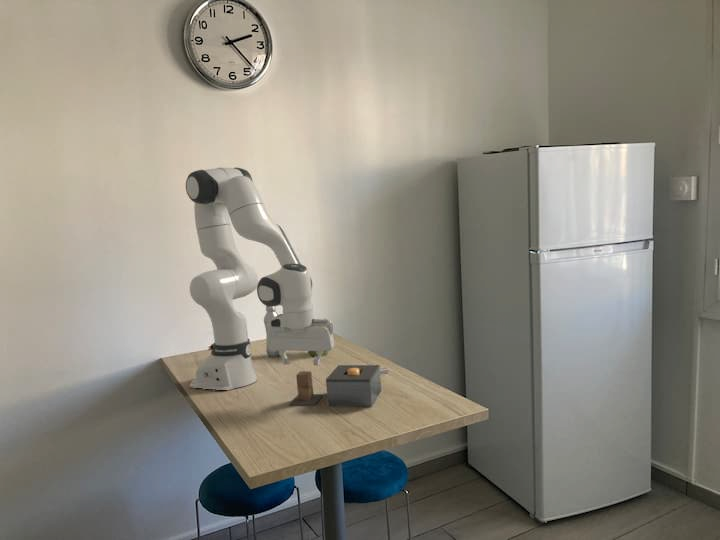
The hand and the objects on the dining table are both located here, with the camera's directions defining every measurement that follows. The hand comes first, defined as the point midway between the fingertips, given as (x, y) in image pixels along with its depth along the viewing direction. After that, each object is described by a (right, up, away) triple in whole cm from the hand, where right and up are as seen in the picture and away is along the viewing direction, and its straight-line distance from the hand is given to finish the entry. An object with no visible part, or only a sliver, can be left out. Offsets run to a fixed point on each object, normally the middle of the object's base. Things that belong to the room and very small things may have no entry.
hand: (301, 364), depth 169 cm
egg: (+16, -7, -1) cm, 17 cm away
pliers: (+19, -8, +20) cm, 29 cm away
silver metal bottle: (-16, -6, +52) cm, 55 cm away
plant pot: (+1, -5, +50) cm, 50 cm away
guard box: (+16, -10, 0) cm, 19 cm away
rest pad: (+1, -11, +1) cm, 11 cm away
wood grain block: (+1, -10, +1) cm, 11 cm away
